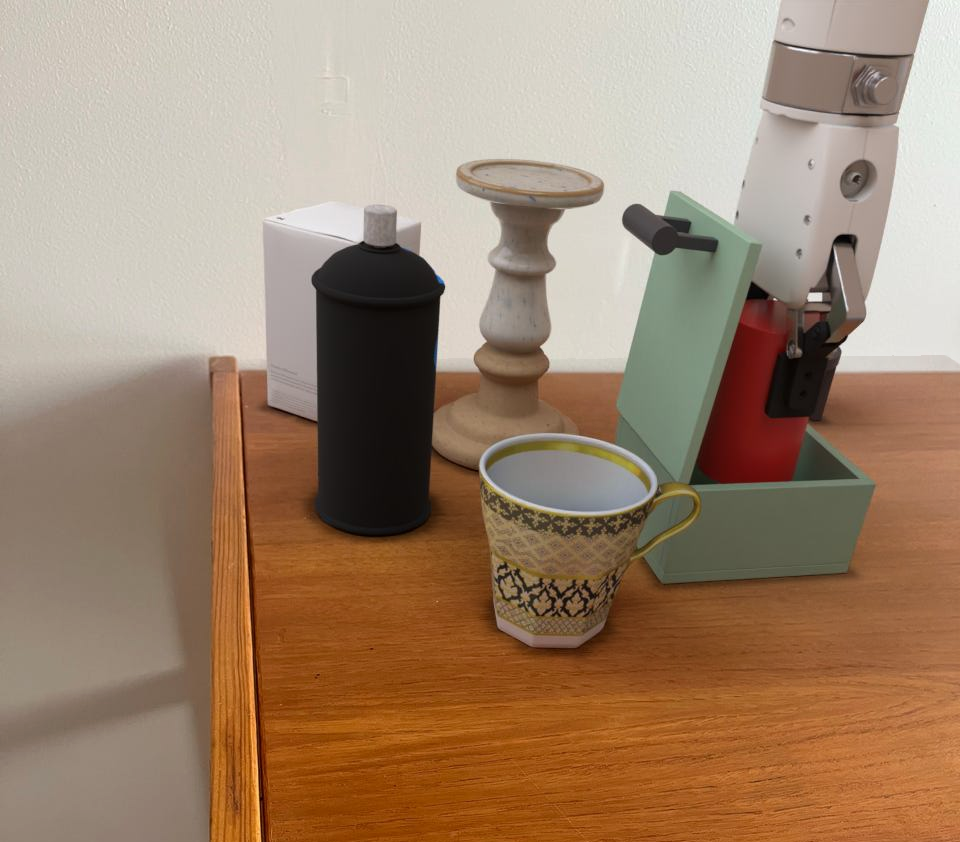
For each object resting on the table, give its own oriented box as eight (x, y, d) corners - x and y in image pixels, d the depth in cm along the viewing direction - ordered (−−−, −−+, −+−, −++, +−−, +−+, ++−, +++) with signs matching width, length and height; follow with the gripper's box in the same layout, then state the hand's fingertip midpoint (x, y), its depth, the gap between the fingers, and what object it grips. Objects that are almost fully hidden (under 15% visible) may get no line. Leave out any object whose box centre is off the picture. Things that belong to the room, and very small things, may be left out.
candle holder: (571, 487, 78) (613, 205, 66) (411, 463, 79) (425, 181, 67) (585, 423, 88) (624, 168, 76) (443, 402, 89) (460, 148, 77)
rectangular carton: (354, 437, 82) (356, 241, 73) (265, 407, 85) (257, 216, 76) (416, 402, 88) (425, 219, 80) (331, 376, 92) (331, 197, 83)
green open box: (770, 493, 80) (793, 410, 76) (846, 573, 70) (876, 483, 67) (604, 500, 76) (619, 413, 72) (661, 584, 67) (681, 491, 63)
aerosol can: (369, 550, 68) (376, 234, 56) (289, 503, 72) (281, 200, 61) (455, 511, 73) (478, 215, 61) (376, 470, 77) (383, 186, 66)
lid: (681, 191, 64) (608, 181, 63) (763, 243, 55) (680, 233, 54) (625, 408, 72) (559, 403, 71) (689, 484, 63) (615, 481, 62)
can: (766, 445, 74) (802, 298, 68) (810, 488, 69) (853, 333, 63) (681, 449, 72) (710, 299, 66) (719, 493, 67) (754, 335, 61)
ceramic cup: (472, 666, 58) (487, 510, 53) (460, 573, 66) (472, 428, 61) (694, 670, 60) (732, 518, 54) (656, 578, 68) (686, 437, 62)
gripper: (988, 116, 51) (883, 447, 61) (819, 64, 65) (756, 343, 75) (853, 112, 49) (768, 453, 60) (708, 60, 63) (660, 345, 73)
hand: (762, 390), depth 67 cm, fingers closed on can, 6 cm apart
